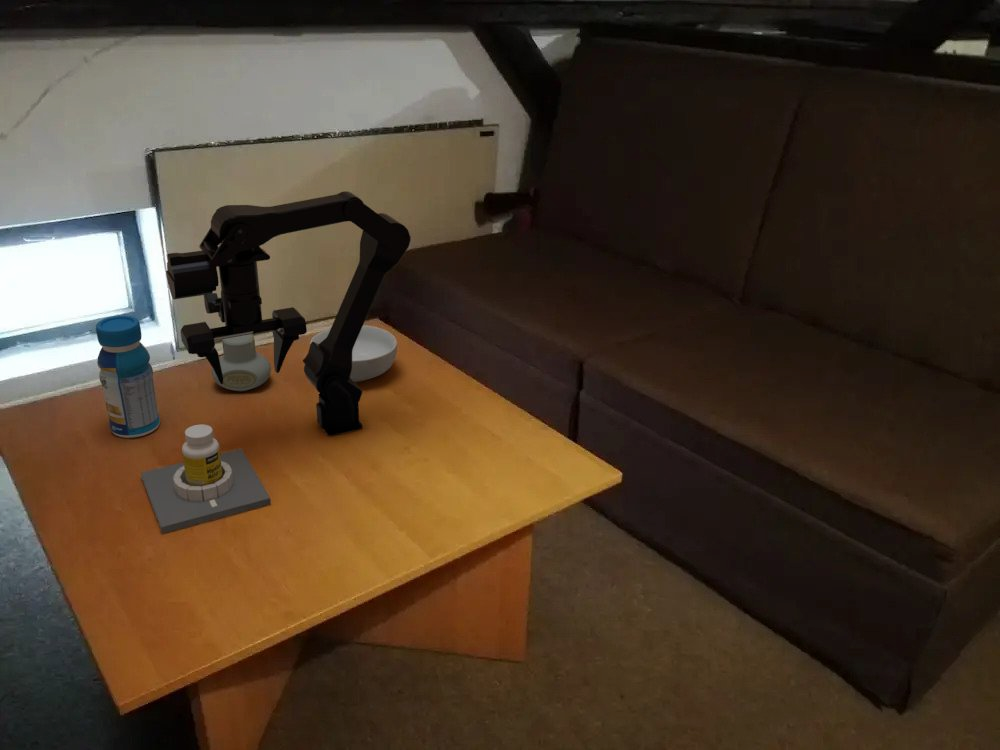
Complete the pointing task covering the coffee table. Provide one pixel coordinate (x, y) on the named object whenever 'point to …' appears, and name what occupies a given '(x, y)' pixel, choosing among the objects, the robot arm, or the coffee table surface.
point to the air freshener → (242, 364)
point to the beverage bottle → (126, 377)
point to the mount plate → (204, 493)
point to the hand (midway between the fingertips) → (249, 377)
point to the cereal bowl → (368, 352)
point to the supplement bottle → (201, 456)
